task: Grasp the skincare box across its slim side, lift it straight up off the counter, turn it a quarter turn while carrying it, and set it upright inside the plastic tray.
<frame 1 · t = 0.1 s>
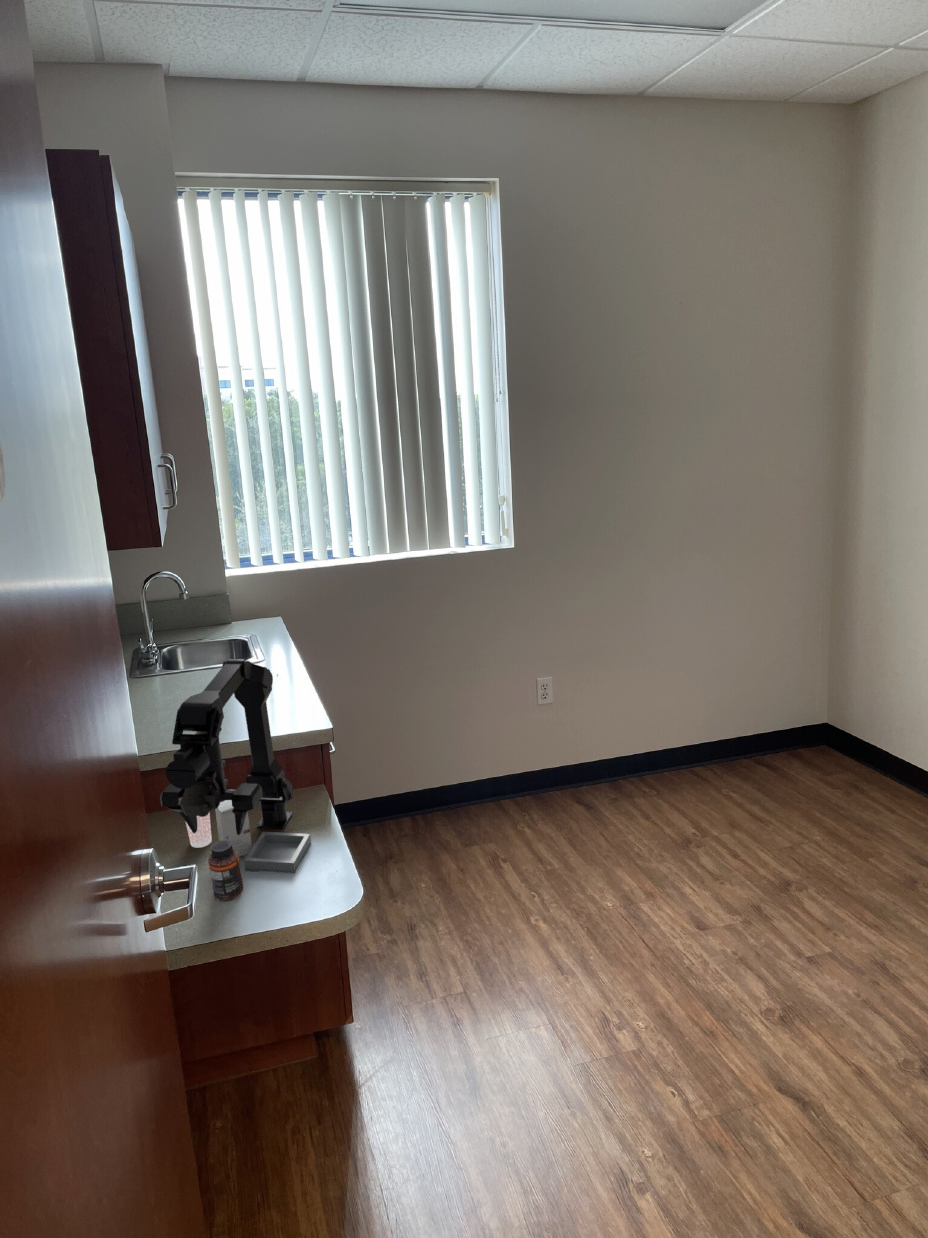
hand: (217, 833, 168), 15 cm above the countertop, fingers open, 9 cm apart
supplement bottle: (228, 894, 173), on the countertop
tray: (278, 857, 185), on the countertop
beverage cup: (201, 842, 192), on the countertop
skincare box: (237, 853, 187), on the countertop
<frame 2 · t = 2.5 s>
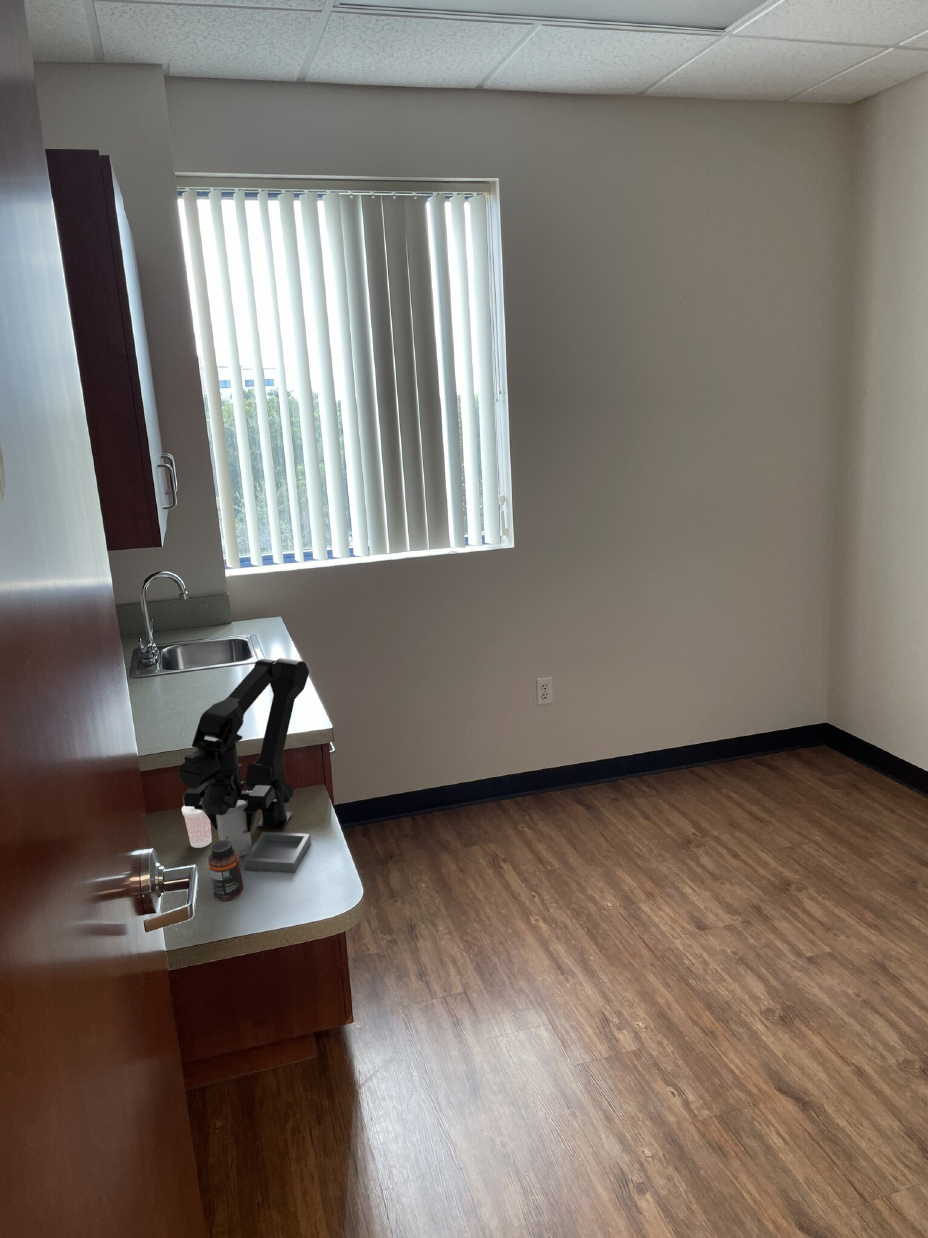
hand: (233, 830, 185), 6 cm above the countertop, fingers closed on skincare box, 7 cm apart
skincare box: (237, 853, 187), on the countertop, touching gripper
everything else where it was.
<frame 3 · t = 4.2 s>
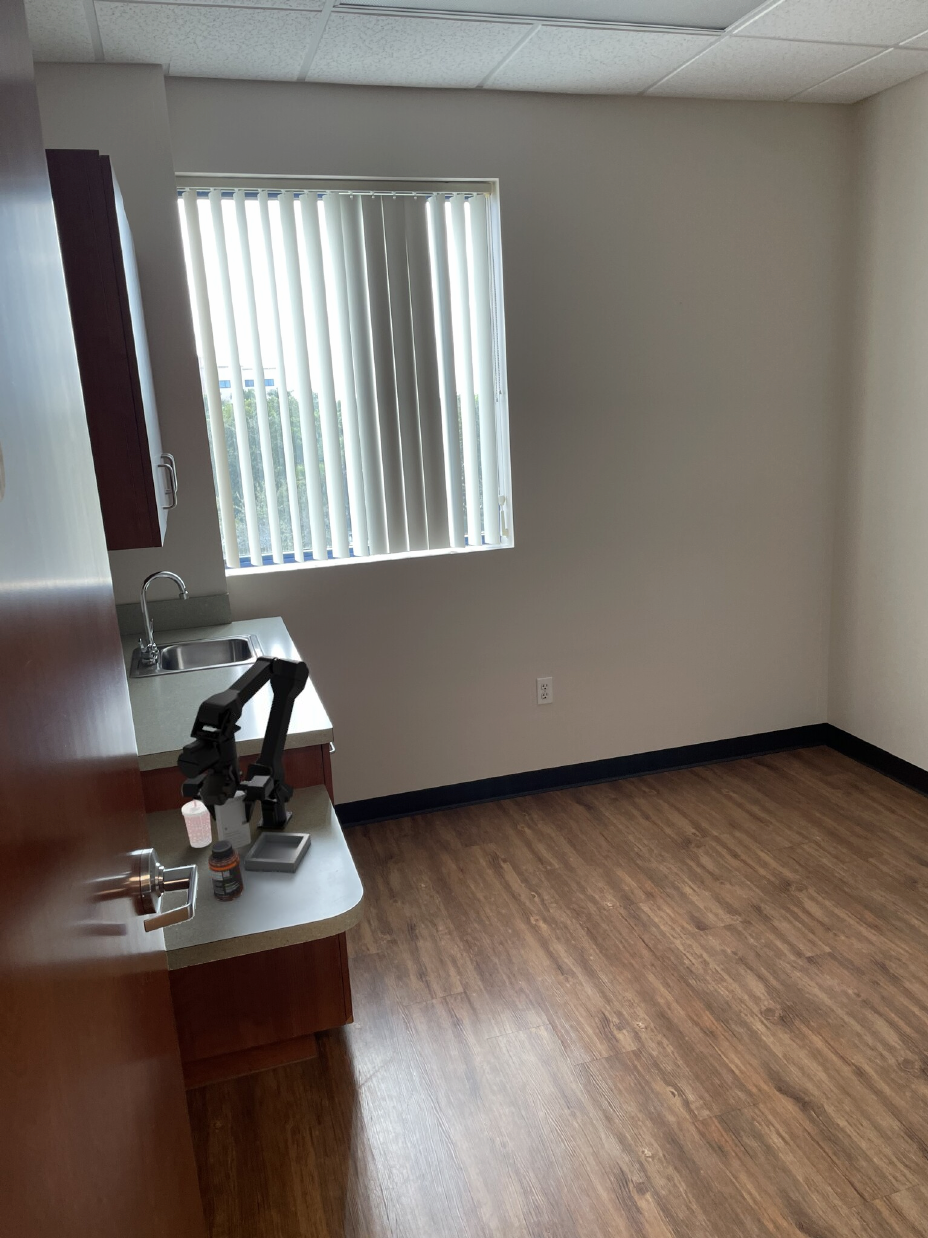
hand: (232, 821, 185), 8 cm above the countertop, fingers closed on skincare box, 7 cm apart
skincare box: (235, 844, 186), point 2 cm above the countertop, touching gripper
everything else where it was.
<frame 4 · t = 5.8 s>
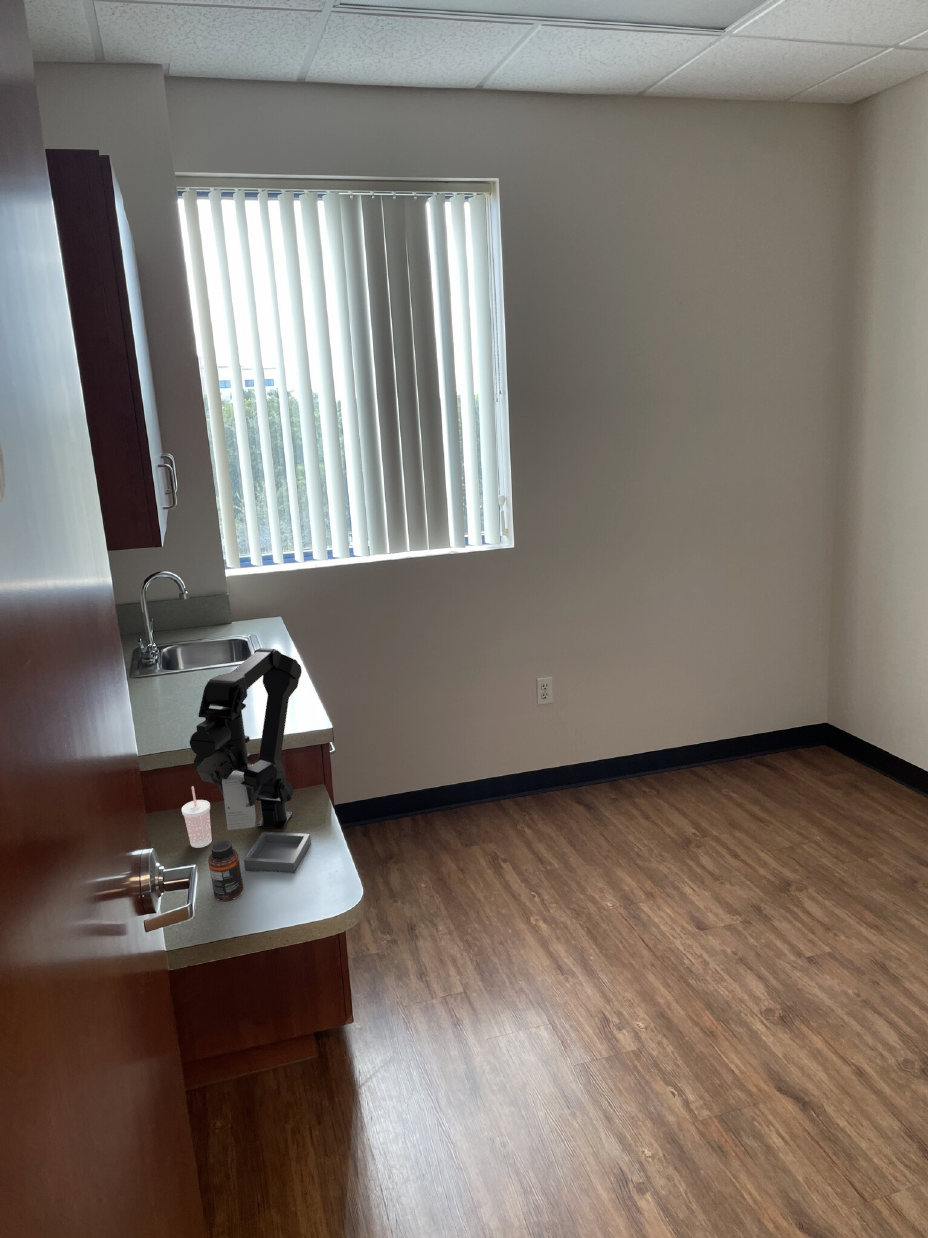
hand: (239, 801, 182), 13 cm above the countertop, fingers closed on skincare box, 7 cm apart
skincare box: (242, 824, 184), point 7 cm above the countertop, touching gripper
everything else where it was.
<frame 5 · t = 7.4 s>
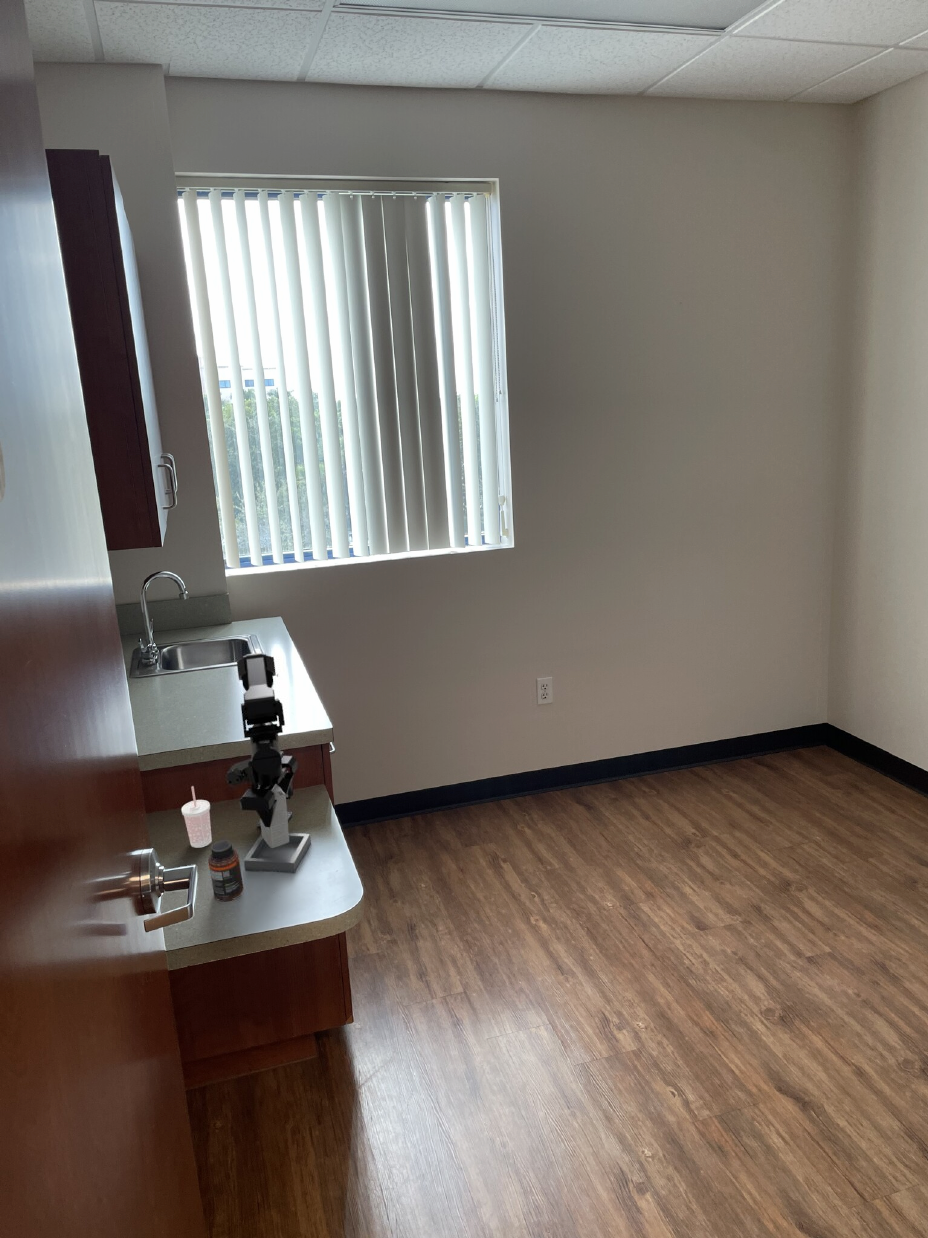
hand: (274, 817, 182), 10 cm above the countertop, fingers closed on skincare box, 7 cm apart
skincare box: (276, 840, 184), point 4 cm above the countertop, touching gripper
everything else where it was.
when the fingers open (7 cm above the countertop, at t = 8.8 s): skincare box drops 1 cm, resting on tray.
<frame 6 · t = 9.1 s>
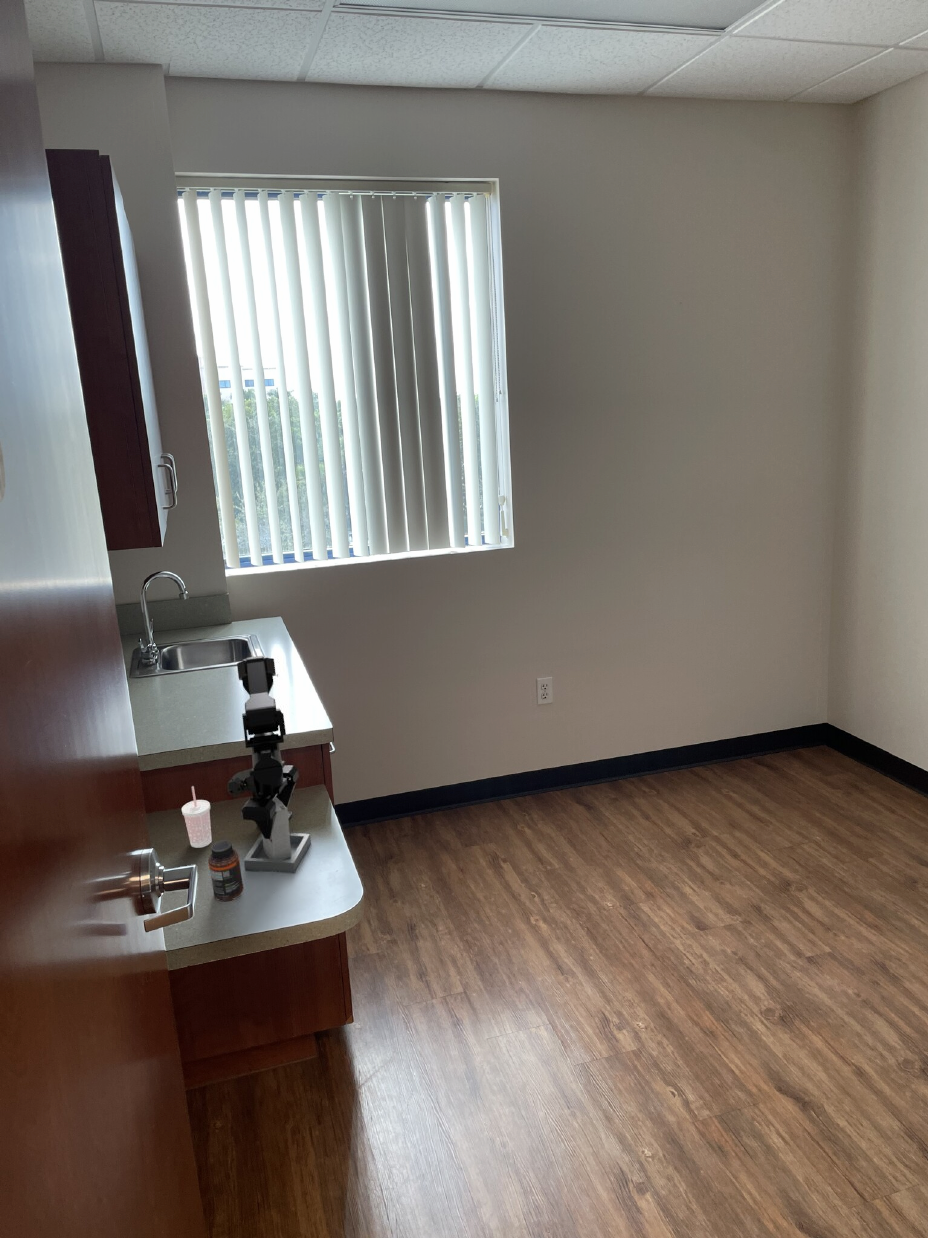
hand: (275, 826, 182), 7 cm above the countertop, fingers open, 9 cm apart
skincare box: (278, 855, 185), resting on tray
everything else where it was.
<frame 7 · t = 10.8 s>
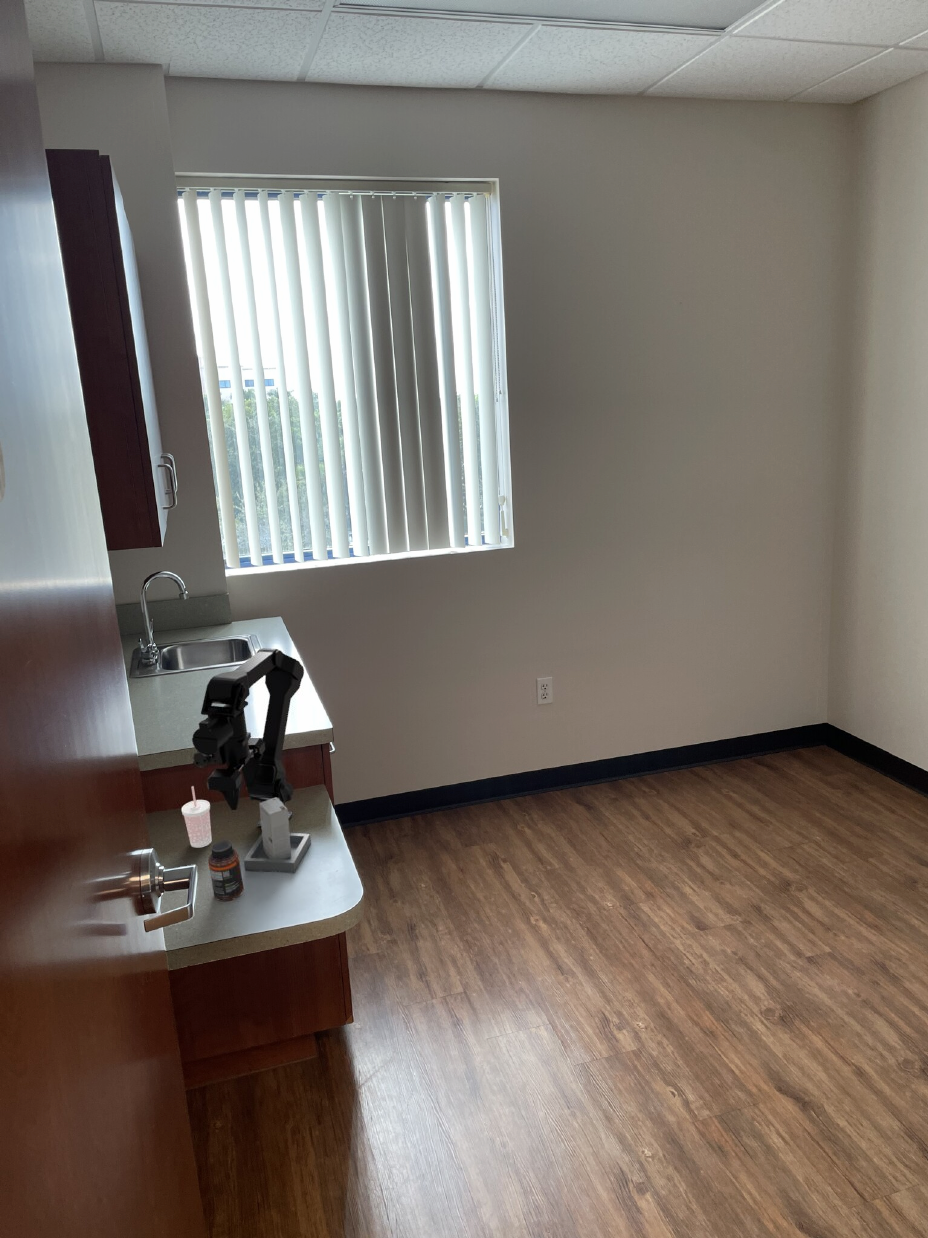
hand: (241, 798, 184), 13 cm above the countertop, fingers open, 9 cm apart
nothing on the countertop moved.
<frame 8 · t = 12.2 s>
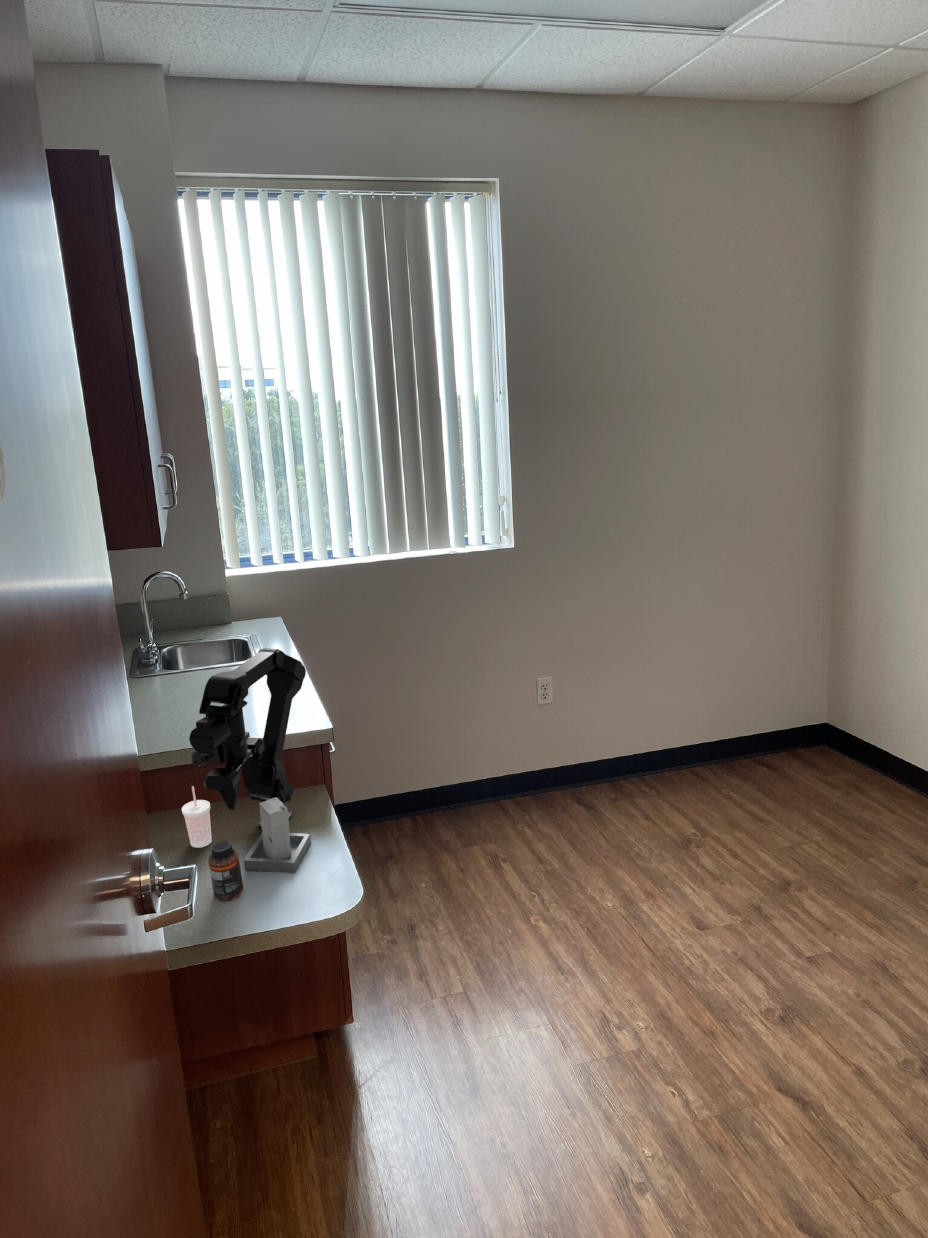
hand: (240, 798, 184), 13 cm above the countertop, fingers open, 9 cm apart
nothing on the countertop moved.
at the end: skincare box 0.1 cm off-centre on the tray, point 0.4 cm above the tray's base; skincare box tilted 0°; the gripper is holding nothing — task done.
